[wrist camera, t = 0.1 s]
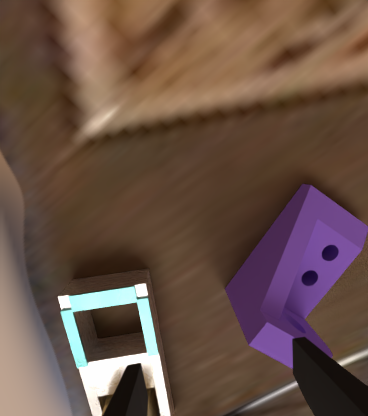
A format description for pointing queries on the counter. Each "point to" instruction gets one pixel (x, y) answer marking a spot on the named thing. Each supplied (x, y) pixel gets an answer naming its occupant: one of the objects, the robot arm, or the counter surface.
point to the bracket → (294, 272)
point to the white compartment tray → (115, 337)
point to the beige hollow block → (151, 402)
